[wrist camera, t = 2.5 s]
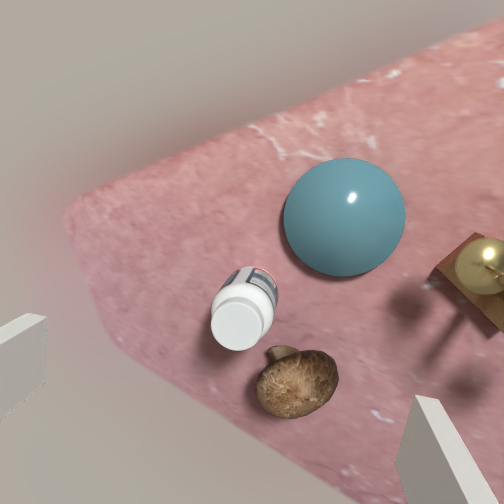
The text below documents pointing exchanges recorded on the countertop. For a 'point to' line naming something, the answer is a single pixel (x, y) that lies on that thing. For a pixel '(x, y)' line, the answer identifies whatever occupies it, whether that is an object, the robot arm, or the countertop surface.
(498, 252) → the balance
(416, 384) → the countertop surface
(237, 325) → the pill bottle
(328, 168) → the dish
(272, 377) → the mushroom
